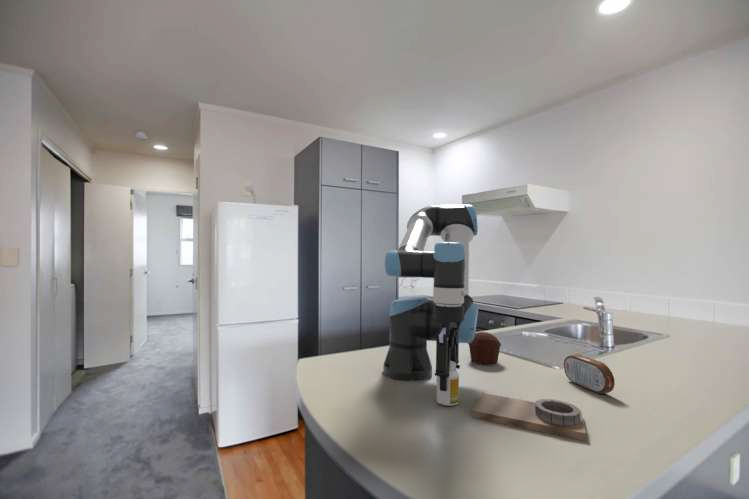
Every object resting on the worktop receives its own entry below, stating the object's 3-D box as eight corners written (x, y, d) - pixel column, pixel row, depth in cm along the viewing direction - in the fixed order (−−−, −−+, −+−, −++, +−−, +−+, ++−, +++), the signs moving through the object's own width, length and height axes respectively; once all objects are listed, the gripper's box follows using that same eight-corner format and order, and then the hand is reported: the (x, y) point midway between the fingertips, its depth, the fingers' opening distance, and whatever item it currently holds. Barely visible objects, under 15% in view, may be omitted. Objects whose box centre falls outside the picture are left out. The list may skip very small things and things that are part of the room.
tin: (615, 397, 92) (615, 365, 92) (606, 398, 91) (605, 366, 92) (570, 378, 107) (570, 350, 107) (561, 379, 106) (561, 351, 106)
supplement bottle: (462, 405, 85) (463, 364, 85) (442, 407, 83) (443, 366, 84) (451, 396, 90) (452, 358, 90) (432, 398, 88) (433, 360, 89)
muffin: (462, 357, 128) (462, 329, 129) (491, 356, 130) (491, 329, 130) (475, 367, 117) (475, 336, 117) (507, 366, 118) (507, 336, 118)
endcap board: (472, 417, 79) (472, 401, 79) (481, 398, 90) (481, 384, 90) (586, 441, 69) (586, 423, 69) (581, 417, 80) (581, 401, 80)
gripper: (454, 310, 77) (453, 416, 77) (471, 301, 94) (470, 389, 93) (422, 307, 81) (420, 409, 80) (443, 299, 97) (442, 384, 97)
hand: (447, 398), depth 87 cm, fingers closed on supplement bottle, 5 cm apart
